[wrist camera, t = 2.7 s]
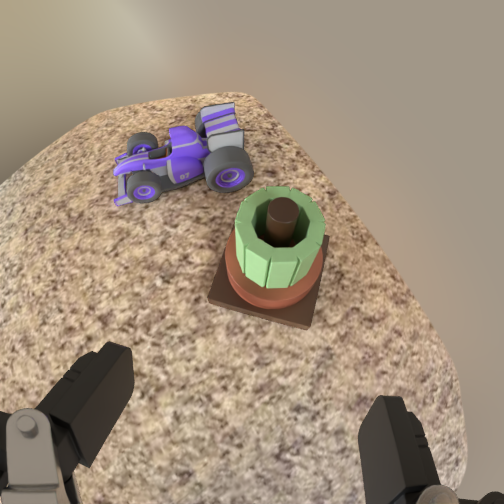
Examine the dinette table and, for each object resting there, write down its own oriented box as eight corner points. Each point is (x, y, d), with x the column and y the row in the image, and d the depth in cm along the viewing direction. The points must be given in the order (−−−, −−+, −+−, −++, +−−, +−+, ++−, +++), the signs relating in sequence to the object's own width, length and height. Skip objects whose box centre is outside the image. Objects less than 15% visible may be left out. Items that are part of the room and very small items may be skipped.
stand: (326, 242, 31) (357, 176, 21) (306, 330, 27) (340, 293, 17) (238, 219, 32) (237, 145, 22) (209, 303, 28) (191, 252, 18)
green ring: (317, 231, 27) (330, 197, 22) (302, 298, 24) (315, 274, 20) (249, 213, 27) (251, 176, 23) (227, 277, 25) (223, 249, 20)
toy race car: (117, 155, 35) (101, 117, 29) (235, 130, 37) (234, 89, 31) (117, 218, 31) (95, 181, 26) (253, 189, 33) (255, 146, 27)
